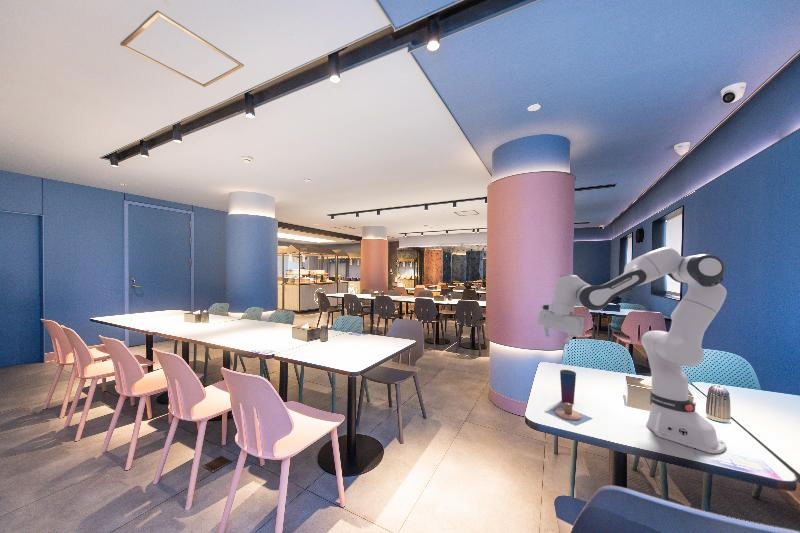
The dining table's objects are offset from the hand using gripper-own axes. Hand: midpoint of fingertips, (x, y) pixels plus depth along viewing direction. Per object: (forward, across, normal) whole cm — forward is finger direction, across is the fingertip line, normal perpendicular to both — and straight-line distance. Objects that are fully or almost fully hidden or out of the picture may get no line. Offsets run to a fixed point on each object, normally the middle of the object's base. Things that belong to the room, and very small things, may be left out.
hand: (556, 340), depth 136 cm
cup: (+31, +1, -19) cm, 36 cm away
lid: (+31, -8, -6) cm, 32 cm away
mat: (+31, -8, -6) cm, 33 cm away
